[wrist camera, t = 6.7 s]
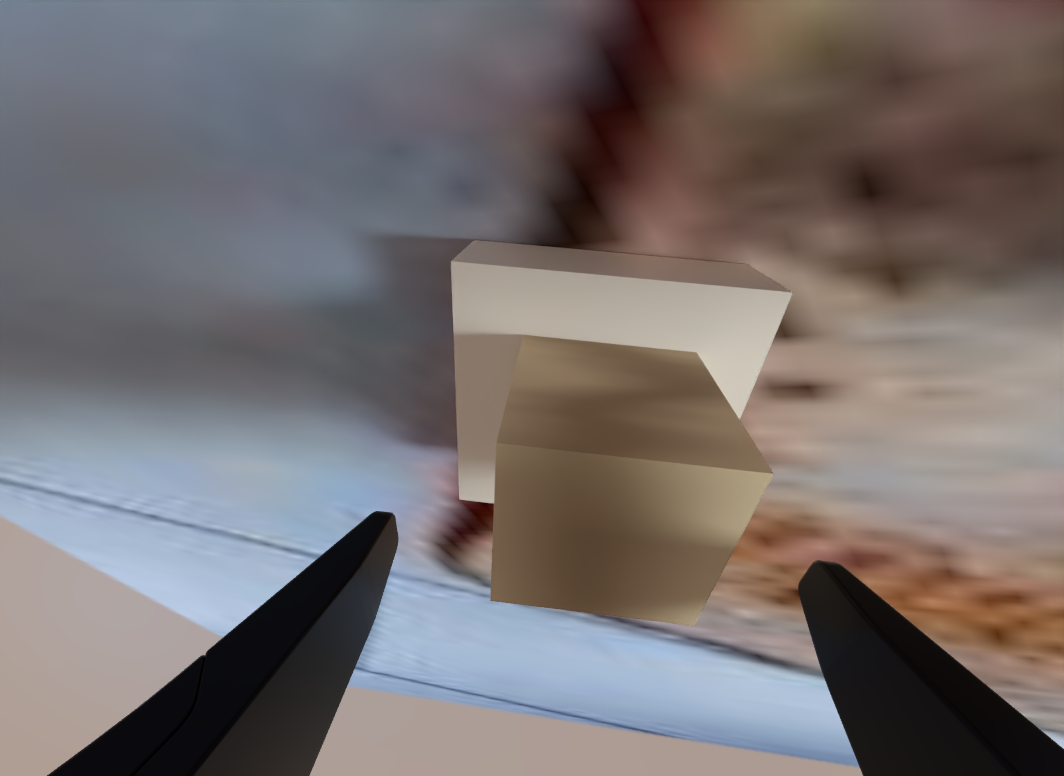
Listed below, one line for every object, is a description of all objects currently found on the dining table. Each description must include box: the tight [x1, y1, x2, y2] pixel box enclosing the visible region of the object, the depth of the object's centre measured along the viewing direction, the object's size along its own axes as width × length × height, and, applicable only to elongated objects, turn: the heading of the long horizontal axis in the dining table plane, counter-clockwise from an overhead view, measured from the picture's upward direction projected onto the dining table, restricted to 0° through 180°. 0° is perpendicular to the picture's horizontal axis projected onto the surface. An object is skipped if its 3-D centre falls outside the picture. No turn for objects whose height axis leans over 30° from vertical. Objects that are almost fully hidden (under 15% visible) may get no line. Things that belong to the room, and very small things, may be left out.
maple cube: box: [491, 335, 774, 626], centre depth 11 cm, size 5×5×5 cm
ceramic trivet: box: [451, 240, 793, 503], centre depth 14 cm, size 9×9×3 cm
